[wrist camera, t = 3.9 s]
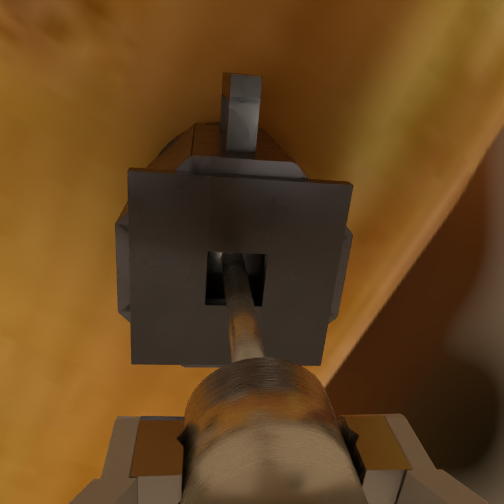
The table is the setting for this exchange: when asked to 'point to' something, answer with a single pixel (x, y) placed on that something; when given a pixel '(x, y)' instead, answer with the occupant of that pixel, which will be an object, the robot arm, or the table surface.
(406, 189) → the table surface
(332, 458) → the plunger
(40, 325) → the table surface
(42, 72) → the table surface
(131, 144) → the table surface
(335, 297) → the press body
